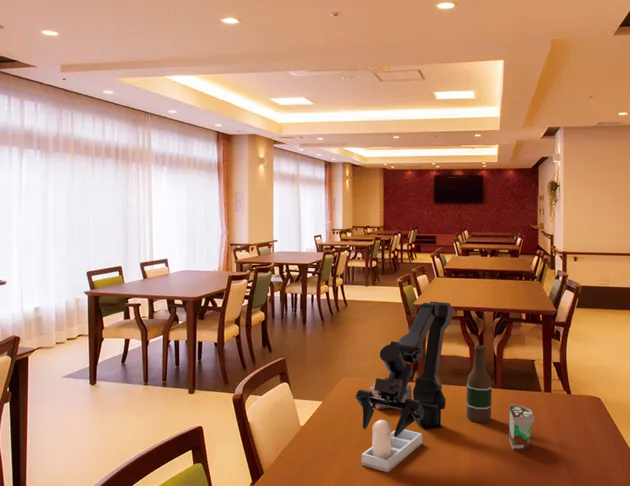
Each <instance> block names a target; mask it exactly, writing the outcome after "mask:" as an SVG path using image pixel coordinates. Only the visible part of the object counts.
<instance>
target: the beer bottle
mask: <svg viewBox="0 0 630 486" xmlns="http://www.w3.org/2000/svg"><path fill="white" fill-rule="evenodd" d="M473 350H474V356H473V357H474V359H473V366H472V370H471V371H470V373H469V374H468V376H467V379H466V380H467V381H466V405H465V406H466V408H465V409H466V410H465V411H466V413H465V415H466V418H467V419H468V420H469V421H471V422H475V423H487V422H489V421H491V419H492V392H493V391H492V390H493V389H492V388H493V387H492V380H491V377H490V375H489V373H488V372H487V371H488V370H487V367H486V366H487V365H486V362H487V361H486V351H487V348H486V346H485V345H482V344H476V345H474V347H473Z"/></svg>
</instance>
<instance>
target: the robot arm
mask: <svg viewBox="0 0 630 486" xmlns="http://www.w3.org/2000/svg"><path fill="white" fill-rule="evenodd" d="M454 313H455V310H454V307H453V306H452V305H451V303H450V302H443V301H430V302H422V303H421V304H420V307H419V311H418V314H417V316H416V317H415V318H414V319H415V320H414V321H413V323H412V324H411V327H410V329H409V330H408V332H407V334H405V335H403V336H401V337H400V338H399V339H398V341H393V340H392V341H390V344H387V345H385V346H384V347H382V349H380V352H379V357H380V359H381V361H382V363H383V365H384V366H385V368H386V369H387V371H388V372H389V374H388V377H385V378H378V377H376V378H375V382H374V383H375V386H374V390H377V391H378V394H379V395H381V398H378V397H374V395H373V393H372V392H371V391H370V390H367V389H359V390H358V391H357V392H356V393H355V397H354V398H355V399H356V400H357V402H358V403H359V405H360V406H361V407H362V429H363V430H367V428H368V426H369V424H370V422H371V419H372V417H373V415H374V413H375V408H376V407H375V406H376V404H377V405H381V406H386V407H391V408H390V409H396V410H401V411H400V416H399V419H398V422H397V425H396V426H395V429H394V430H395V433H394V436H395V437H397V436H398V435H399V434H400V433H401V432H402V431H403V430H406V428H408V427H409V426H410V425H411V424H412V423H414V422H416V424H418V425H419V426H420V427H421V428H422V429H424V430H429V429H431V430H432V429H441V428H444V425H443V424H442V423H441V422H442V410H445V408H446V402H447V401H446V400H447V399H446V396H445V395H444V393H443V392H442V390H443V389H442V388H443V385H442V383H441V380H440V378H439V370H440V365H441V364H440V362H441V356H442V349H443V342H444V335H445V331H446V330H447V328H448V327H449V326H450V325H451V322H452V318H453V317H454ZM427 335H428V336H427ZM426 337H427V342H426V347H425V354H424V347H423V343H424V341H425V338H426ZM423 356H424V360H423V361H424V363H423V370H422V373H421V375H420V376H419V377H416V378H415V383H414V387H413V390H412V396H413V399H406V400H405V402H404V403H403V402H402V399H403V396H404V394H407V390H406V388H407V385H408V383H410V380H411V377H414V371H413V368H412V366H411V364H415V365H417V364H419V362H420V361H421V360H422V358H423Z"/></svg>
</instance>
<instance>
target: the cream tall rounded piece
mask: <svg viewBox="0 0 630 486" xmlns="http://www.w3.org/2000/svg"><path fill="white" fill-rule="evenodd" d="M371 428H372V429H371V433H372V434H371V447H372V456H375V457H379V458H383V459H386V460H387V459H389V458H390V457H391V432H392V427H391V424H390V423H389V422H388V421H387V420H385V419H377V420H376V421H374V423H373V424H372V427H371Z"/></svg>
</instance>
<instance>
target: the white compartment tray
mask: <svg viewBox="0 0 630 486" xmlns="http://www.w3.org/2000/svg"><path fill="white" fill-rule="evenodd" d="M394 433H395V429H394V430H393V431H391V457H390V458H389V459H387V460H386V459H383V458H379V457H375V456H372V446H371V447H369V448H367V450H365V451H364V452H362V453H361V466H364V467H368V468H371V469H374V470H379V471H382V472H385V473H389V472H390V471H392V470H393V469H394V468H395V467H397V466H398V465H399V464H400V463H402V461H403V460H405V459H406V458H407V457H408V456H409V455H411V454H412V453H413V452H414V451H415V450H417V449H418V448H419V447H420V446H421V445H423V433H421V432H417V431H413V430H409V429H404V430H403V431H402V432H401V433H400V434H399V435H398V436H397V437H395V436H394Z"/></svg>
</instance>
